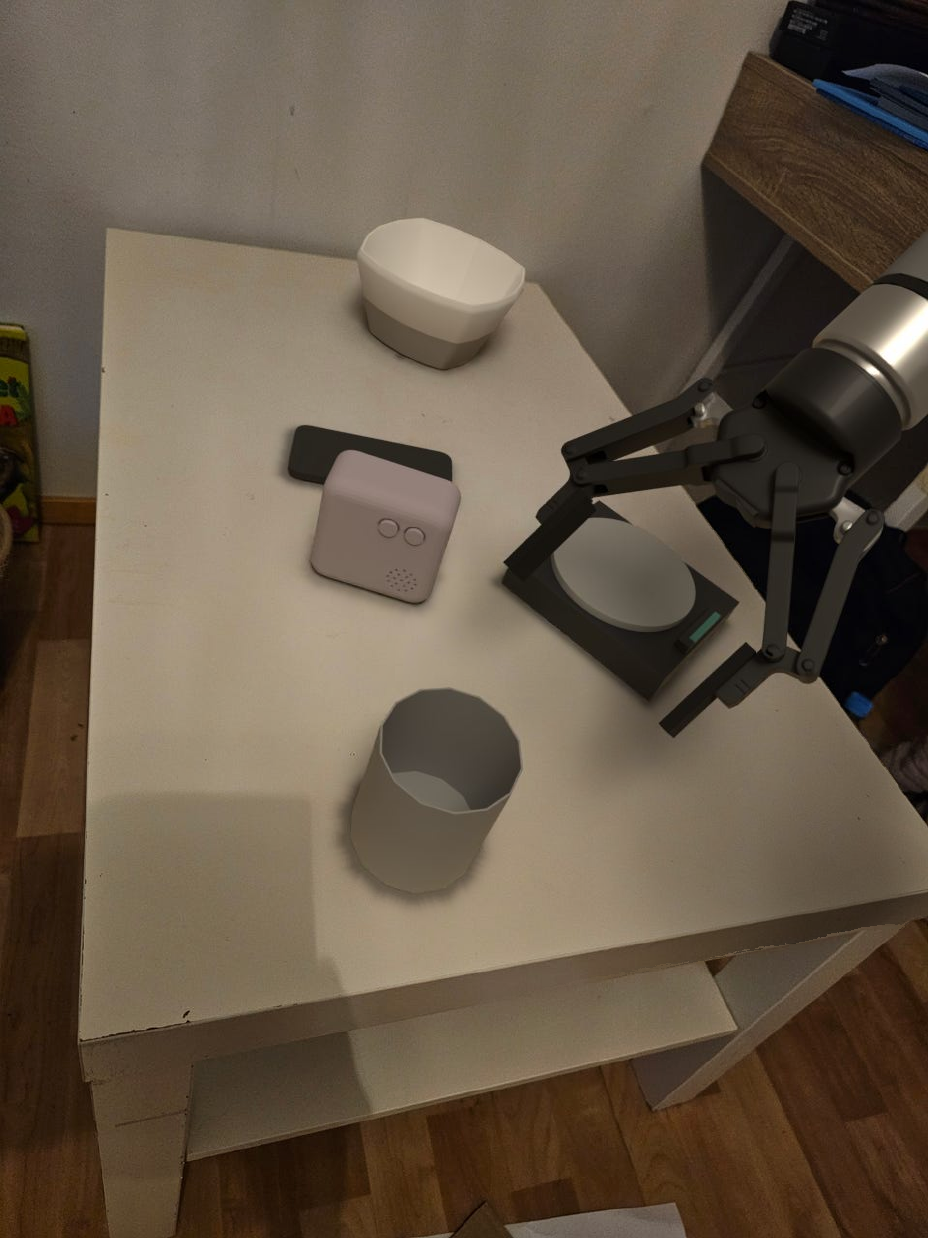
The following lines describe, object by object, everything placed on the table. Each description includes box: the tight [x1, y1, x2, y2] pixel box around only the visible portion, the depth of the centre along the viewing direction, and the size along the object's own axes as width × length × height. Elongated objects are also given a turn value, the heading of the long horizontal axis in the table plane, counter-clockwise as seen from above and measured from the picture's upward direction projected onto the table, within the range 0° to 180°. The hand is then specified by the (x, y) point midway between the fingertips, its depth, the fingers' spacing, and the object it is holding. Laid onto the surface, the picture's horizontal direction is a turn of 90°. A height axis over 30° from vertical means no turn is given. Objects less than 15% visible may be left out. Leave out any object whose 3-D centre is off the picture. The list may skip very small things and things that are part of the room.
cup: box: [349, 686, 524, 895], centre depth 50 cm, size 8×8×10 cm
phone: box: [287, 424, 453, 484], centre depth 77 cm, size 7×1×15 cm
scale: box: [501, 499, 740, 702], centre depth 73 cm, size 16×14×4 cm
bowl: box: [356, 217, 527, 370], centre depth 93 cm, size 18×18×9 cm
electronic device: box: [310, 450, 462, 604], centre depth 65 cm, size 10×5×10 cm, turn 80°
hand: (584, 647), depth 50 cm, fingers open, 13 cm apart
